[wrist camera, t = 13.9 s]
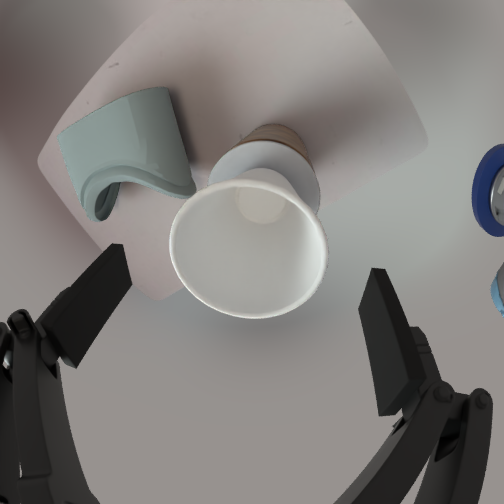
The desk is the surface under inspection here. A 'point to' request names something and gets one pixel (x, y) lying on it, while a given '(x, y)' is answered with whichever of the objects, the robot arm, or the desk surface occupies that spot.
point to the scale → (270, 167)
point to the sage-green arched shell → (126, 151)
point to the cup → (249, 246)
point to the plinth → (278, 138)
